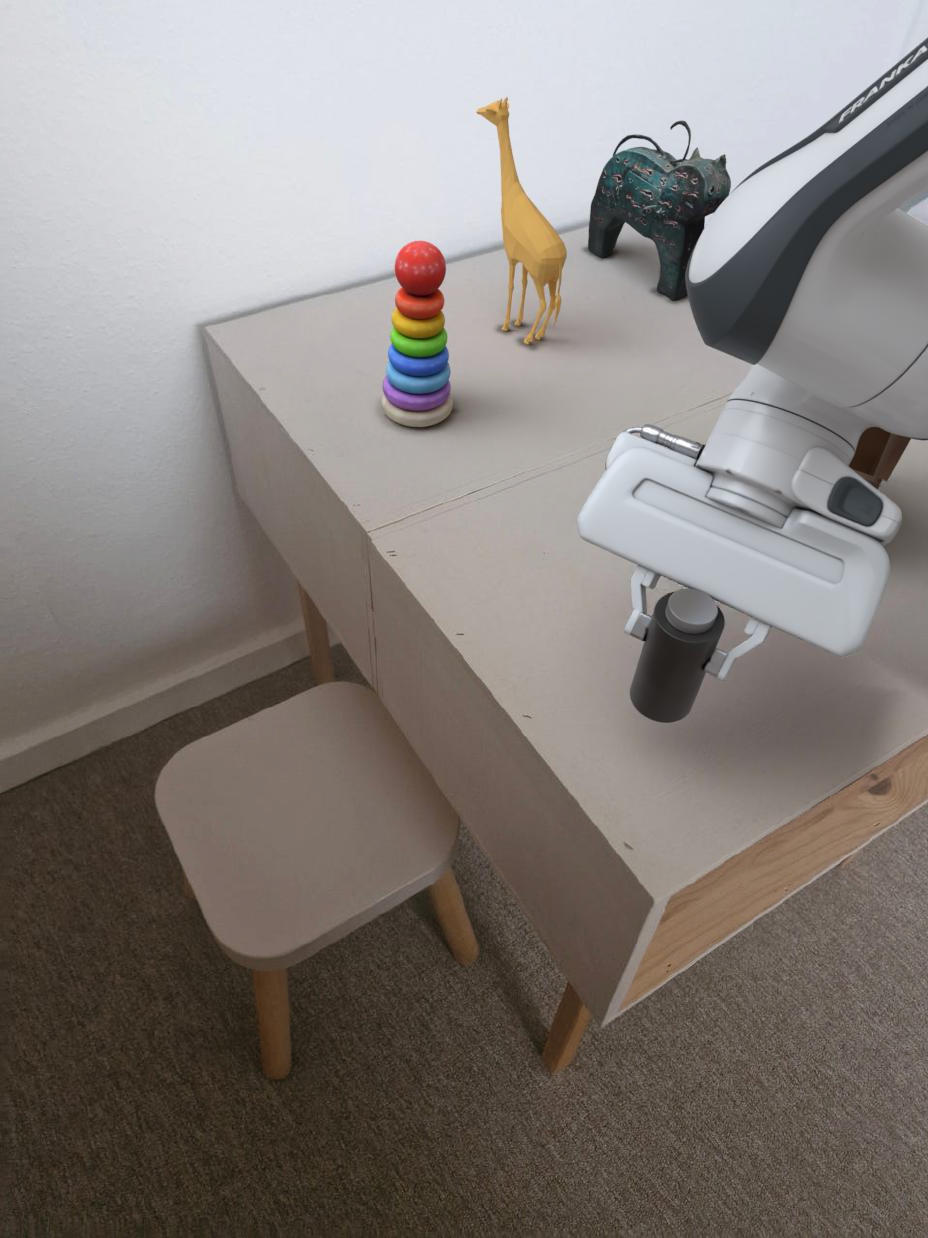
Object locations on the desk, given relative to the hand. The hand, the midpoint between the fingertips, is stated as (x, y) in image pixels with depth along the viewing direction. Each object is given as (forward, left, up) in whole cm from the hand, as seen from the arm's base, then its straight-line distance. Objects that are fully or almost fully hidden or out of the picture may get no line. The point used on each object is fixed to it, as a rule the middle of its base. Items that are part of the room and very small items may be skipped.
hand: (674, 656), depth 58 cm
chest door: (-8, -37, +6) cm, 38 cm away
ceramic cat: (+31, -73, -12) cm, 81 cm away
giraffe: (+39, -51, -12) cm, 65 cm away
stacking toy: (+39, -29, -12) cm, 50 cm away
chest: (-1, -37, -12) cm, 38 cm away
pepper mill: (0, -1, -5) cm, 5 cm away
